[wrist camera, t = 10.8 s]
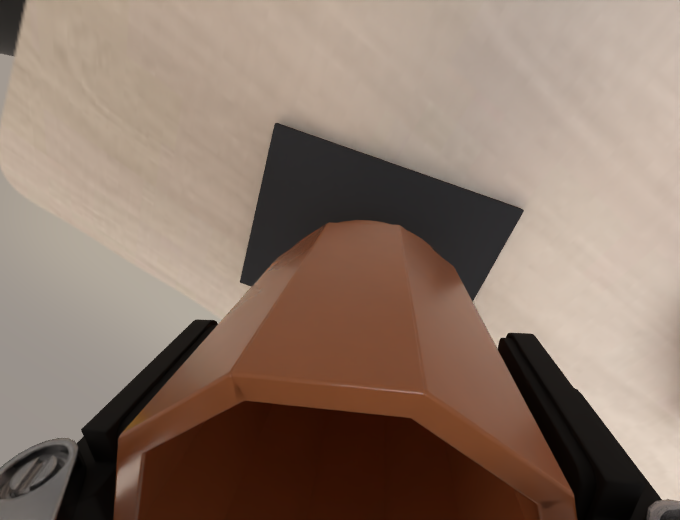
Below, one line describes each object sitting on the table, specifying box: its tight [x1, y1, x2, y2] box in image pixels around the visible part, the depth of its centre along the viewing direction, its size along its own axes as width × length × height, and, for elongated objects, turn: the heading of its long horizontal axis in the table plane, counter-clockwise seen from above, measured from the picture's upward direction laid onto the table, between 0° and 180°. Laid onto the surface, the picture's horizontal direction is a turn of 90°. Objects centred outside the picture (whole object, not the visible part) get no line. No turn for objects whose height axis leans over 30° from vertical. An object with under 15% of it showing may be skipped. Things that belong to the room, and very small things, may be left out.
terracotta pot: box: [113, 220, 577, 520], centre depth 9 cm, size 7×8×8 cm
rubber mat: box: [240, 123, 524, 302], centre depth 19 cm, size 14×10×1 cm
